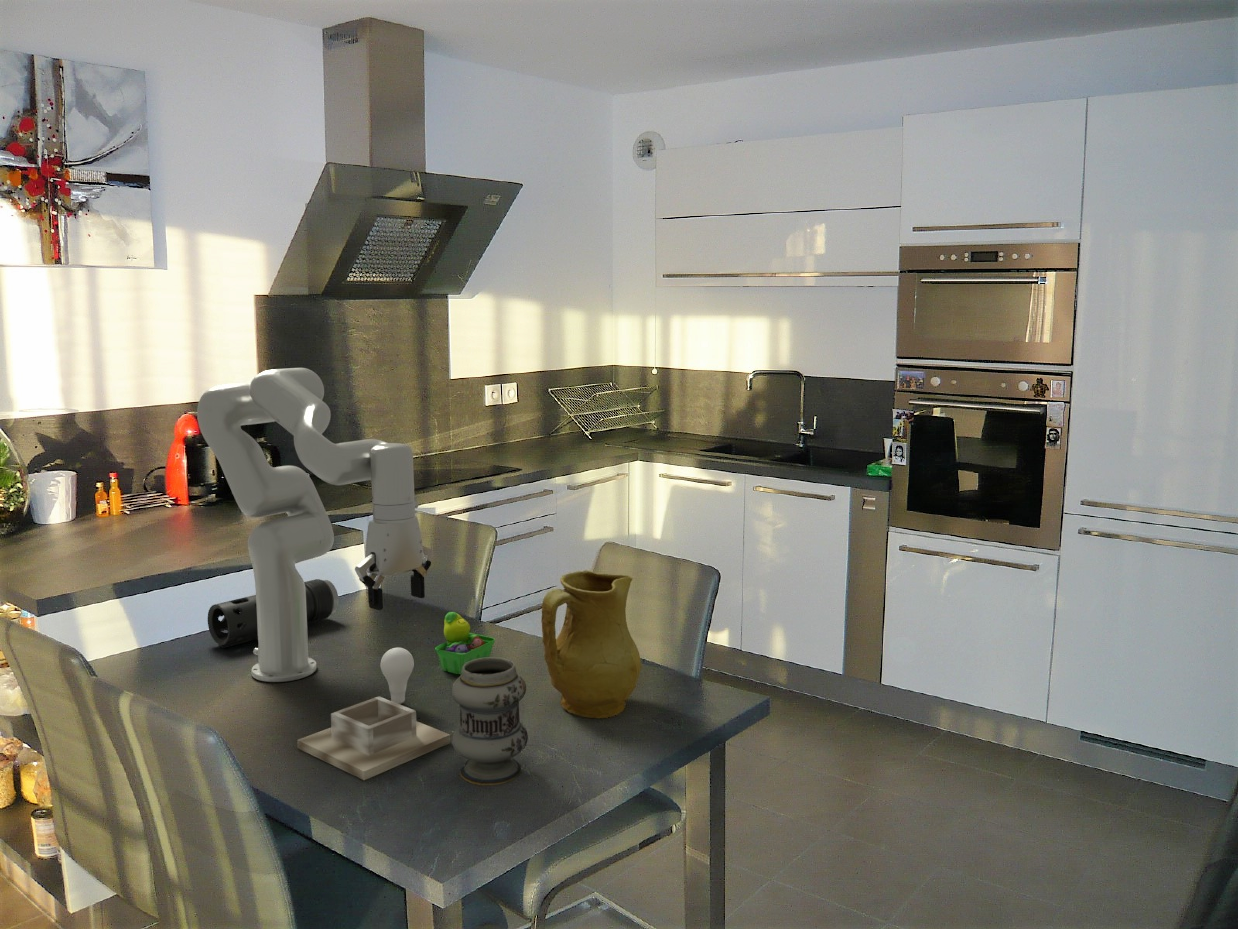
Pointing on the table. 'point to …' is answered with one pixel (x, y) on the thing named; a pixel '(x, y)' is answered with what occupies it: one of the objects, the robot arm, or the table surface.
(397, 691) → the lightbulb
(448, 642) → the fruit basket
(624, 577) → the pitcher
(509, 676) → the apothecary jar
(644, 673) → the table surface
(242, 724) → the table surface
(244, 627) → the muzzle brake
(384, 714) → the socket
